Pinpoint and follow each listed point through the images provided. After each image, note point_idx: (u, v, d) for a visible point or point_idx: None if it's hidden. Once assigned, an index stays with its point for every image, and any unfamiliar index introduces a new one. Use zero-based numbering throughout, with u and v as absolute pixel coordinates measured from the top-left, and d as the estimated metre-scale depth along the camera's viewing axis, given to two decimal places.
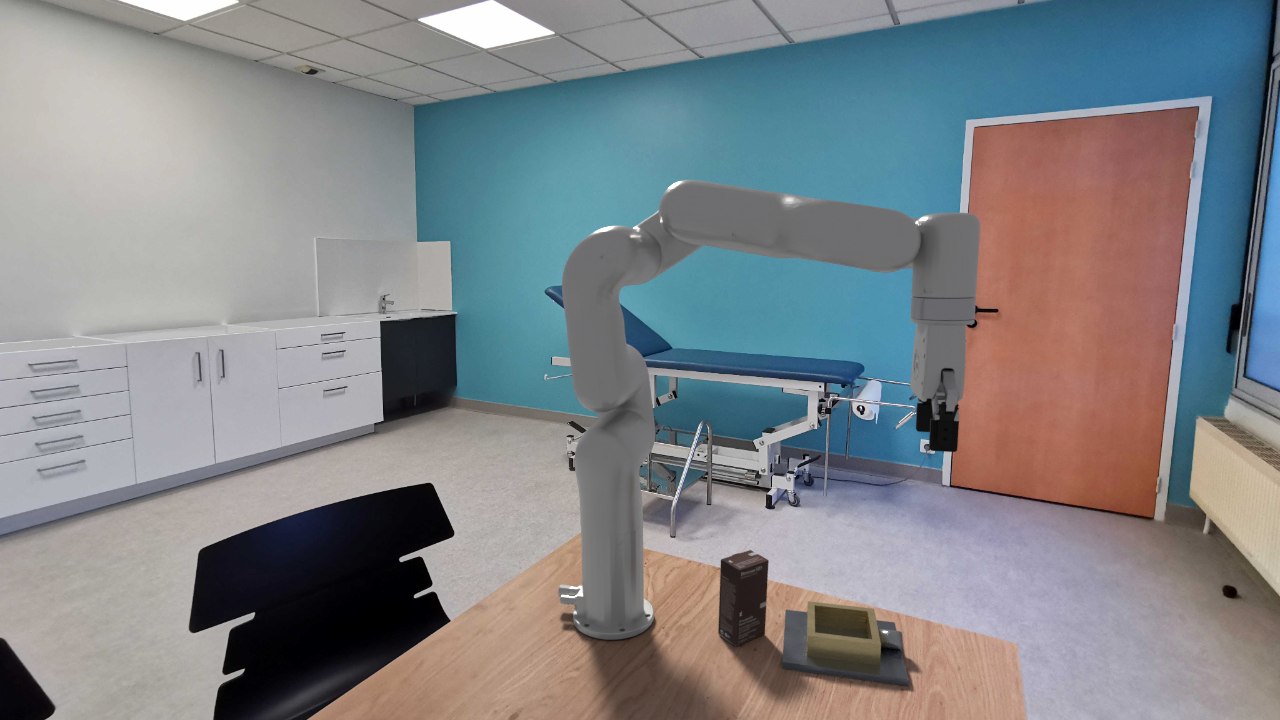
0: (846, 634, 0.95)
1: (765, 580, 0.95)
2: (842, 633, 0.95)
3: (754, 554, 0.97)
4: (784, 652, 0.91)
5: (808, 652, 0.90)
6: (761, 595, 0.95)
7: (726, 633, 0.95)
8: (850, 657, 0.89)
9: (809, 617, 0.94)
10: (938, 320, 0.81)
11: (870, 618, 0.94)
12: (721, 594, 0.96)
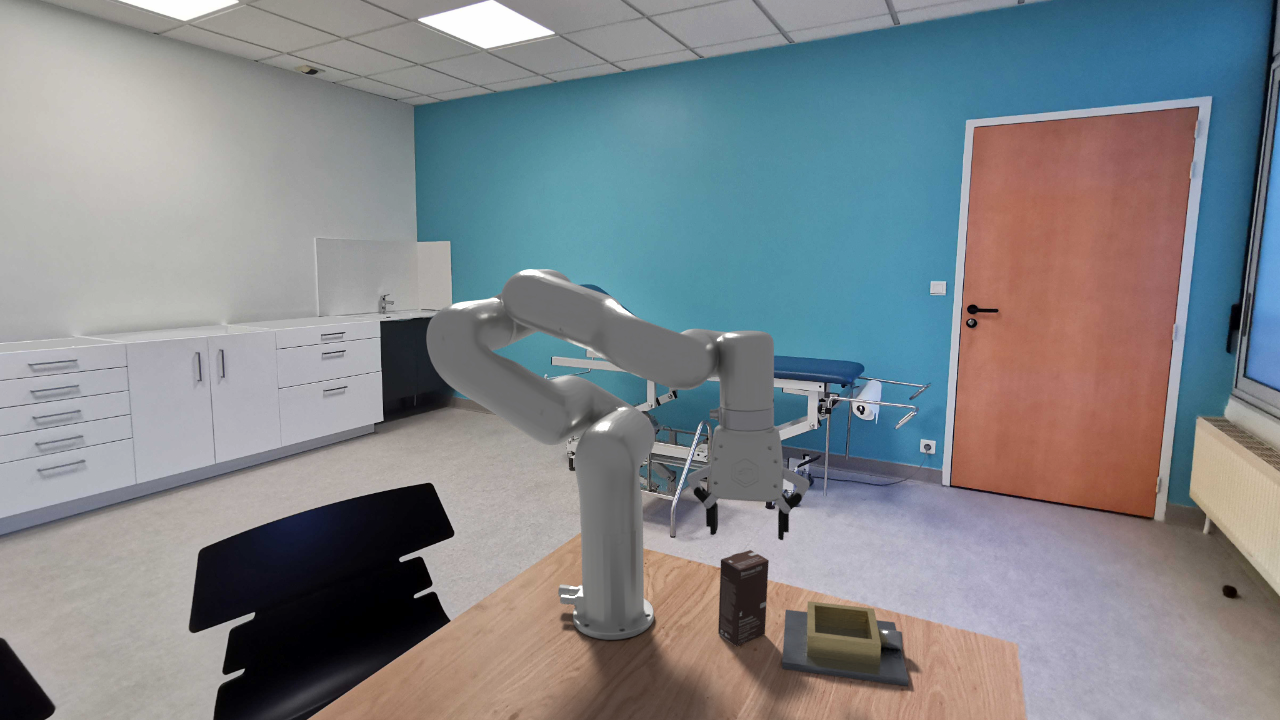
0: (846, 634, 0.95)
1: (766, 580, 0.95)
2: (842, 633, 0.95)
3: (754, 554, 0.97)
4: (784, 652, 0.91)
5: (808, 652, 0.90)
6: (761, 595, 0.95)
7: (726, 633, 0.95)
8: (850, 657, 0.89)
9: (809, 617, 0.94)
10: (771, 427, 0.90)
11: (870, 618, 0.94)
12: (721, 594, 0.96)
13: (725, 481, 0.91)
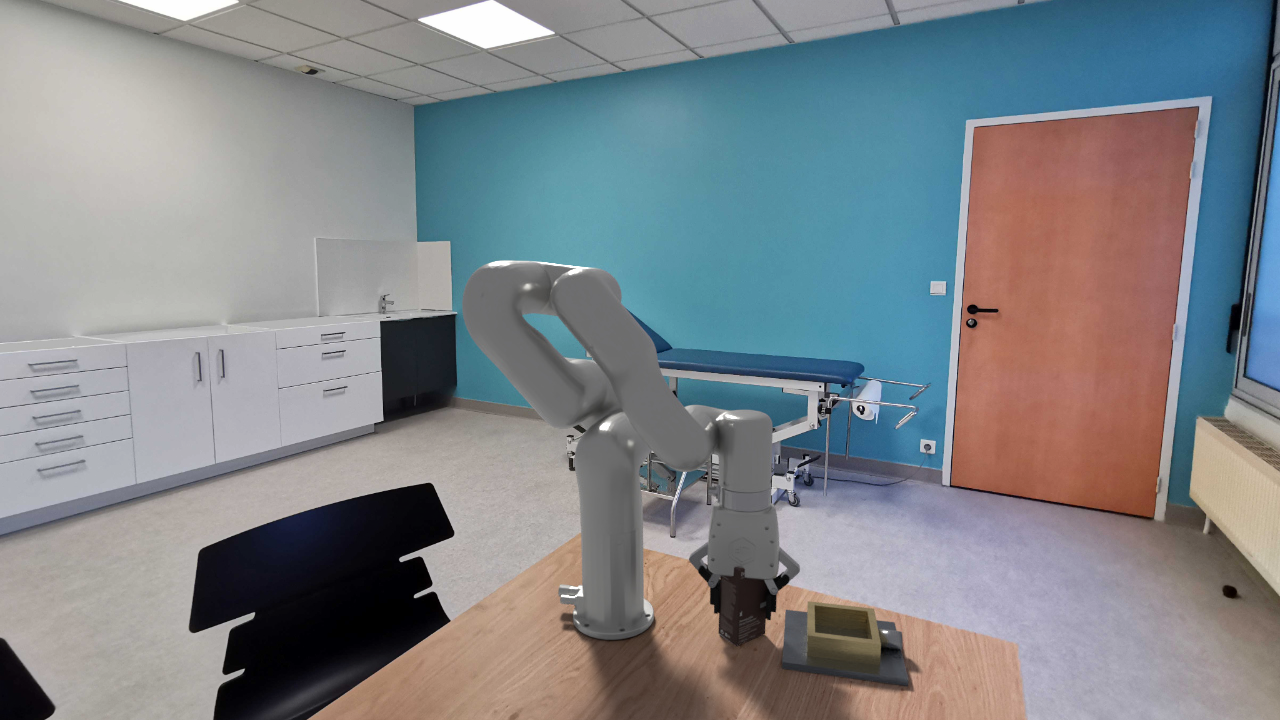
0: (846, 634, 0.95)
1: None
2: (842, 633, 0.95)
3: None
4: (784, 652, 0.91)
5: (808, 652, 0.90)
6: (761, 595, 0.95)
7: (726, 633, 0.95)
8: (850, 657, 0.89)
9: (809, 617, 0.94)
10: (769, 507, 0.92)
11: (870, 618, 0.94)
12: (721, 594, 0.96)
13: (722, 558, 0.93)
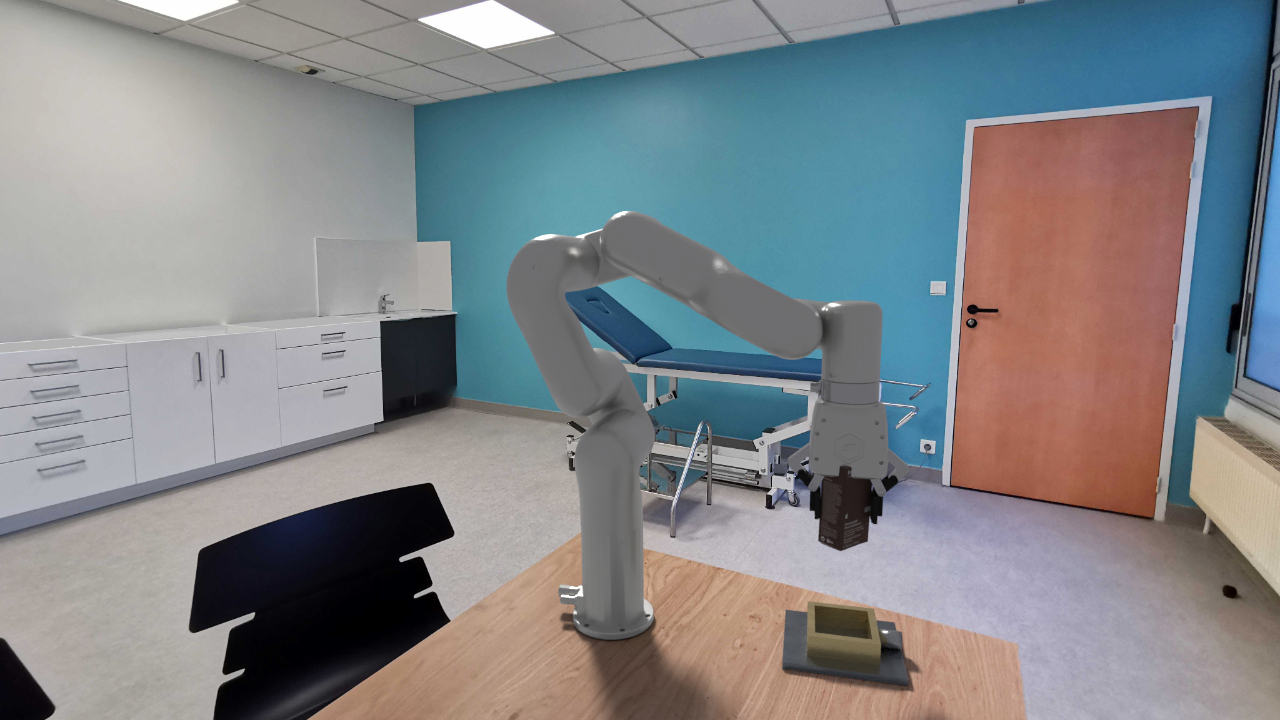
0: (846, 634, 0.95)
1: (870, 483, 0.90)
2: (842, 633, 0.95)
3: None
4: (784, 652, 0.91)
5: (808, 652, 0.90)
6: (866, 498, 0.90)
7: (828, 539, 0.90)
8: (850, 657, 0.89)
9: (809, 617, 0.94)
10: (878, 401, 0.86)
11: (870, 618, 0.94)
12: (823, 498, 0.90)
13: (827, 457, 0.87)
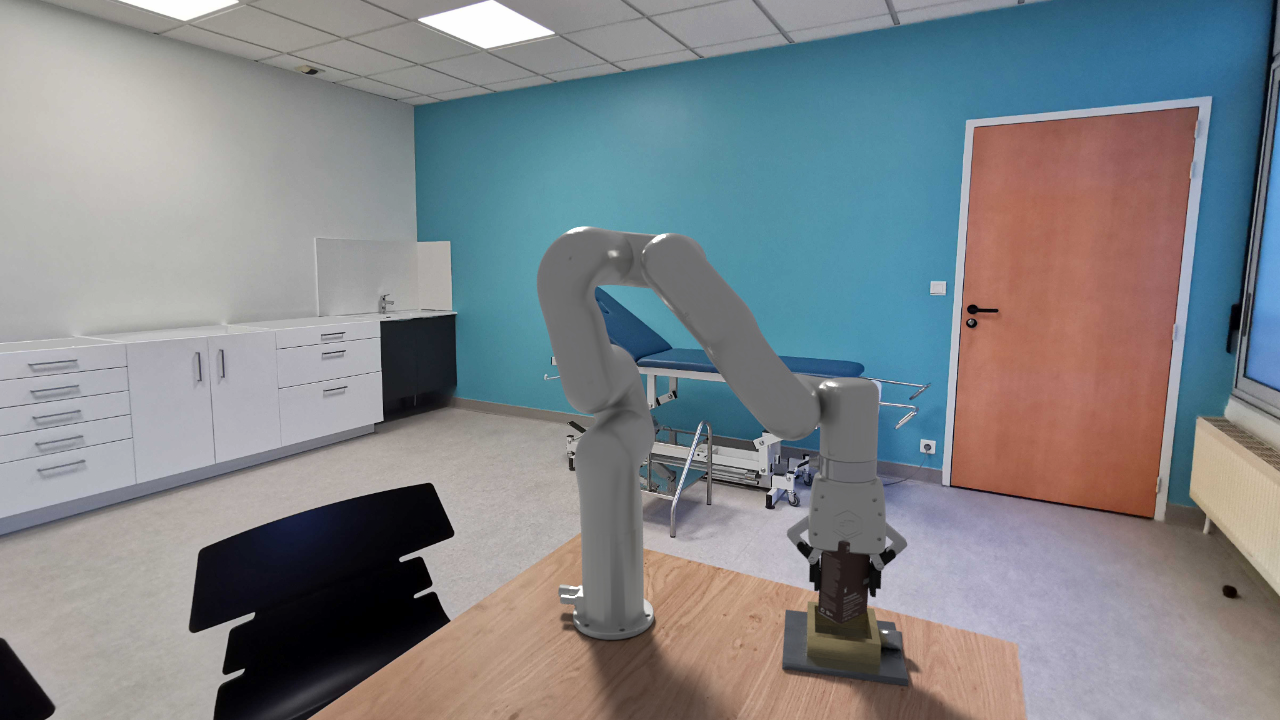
0: (846, 634, 0.95)
1: None
2: (842, 633, 0.95)
3: None
4: (784, 652, 0.91)
5: (808, 652, 0.90)
6: (864, 571, 0.91)
7: (828, 611, 0.91)
8: (850, 657, 0.89)
9: (809, 617, 0.94)
10: (875, 478, 0.88)
11: (870, 618, 0.94)
12: (822, 570, 0.91)
13: (826, 532, 0.89)
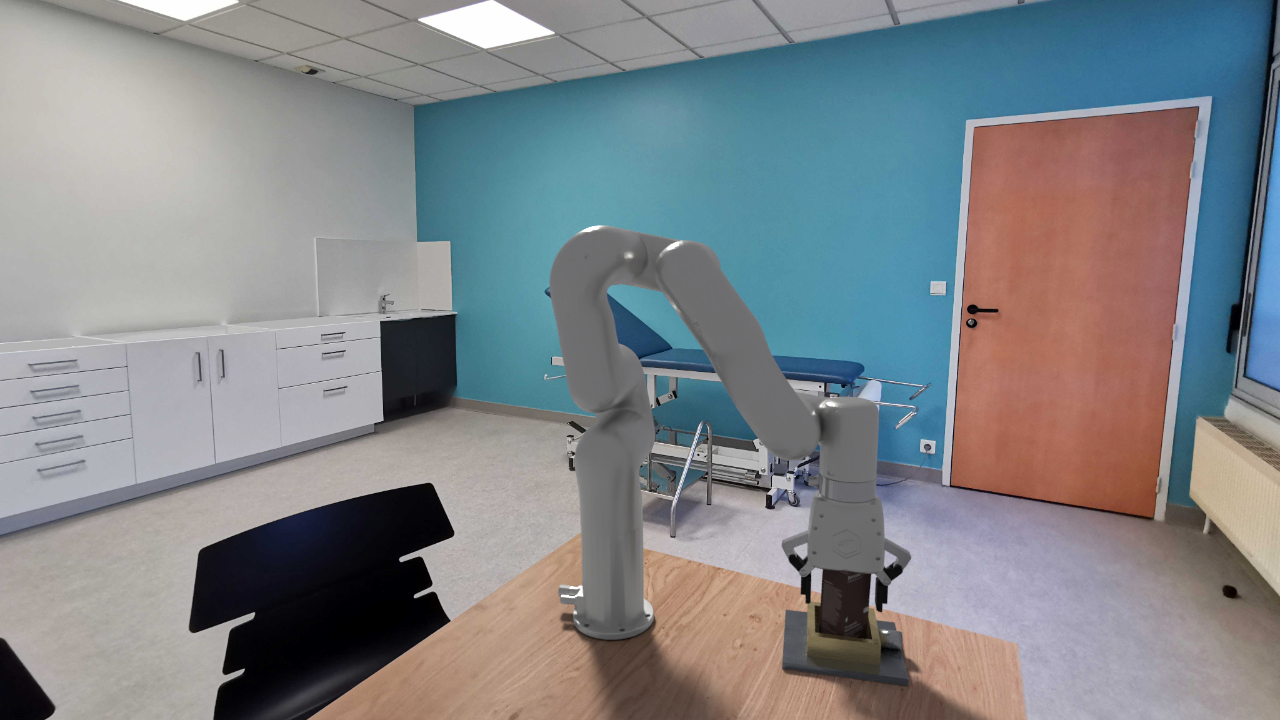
0: None
1: (869, 584, 0.92)
2: None
3: None
4: (784, 652, 0.91)
5: (808, 652, 0.90)
6: (865, 599, 0.92)
7: None
8: (850, 657, 0.89)
9: (809, 617, 0.94)
10: (874, 497, 0.88)
11: (870, 618, 0.94)
12: (823, 599, 0.92)
13: (825, 551, 0.89)
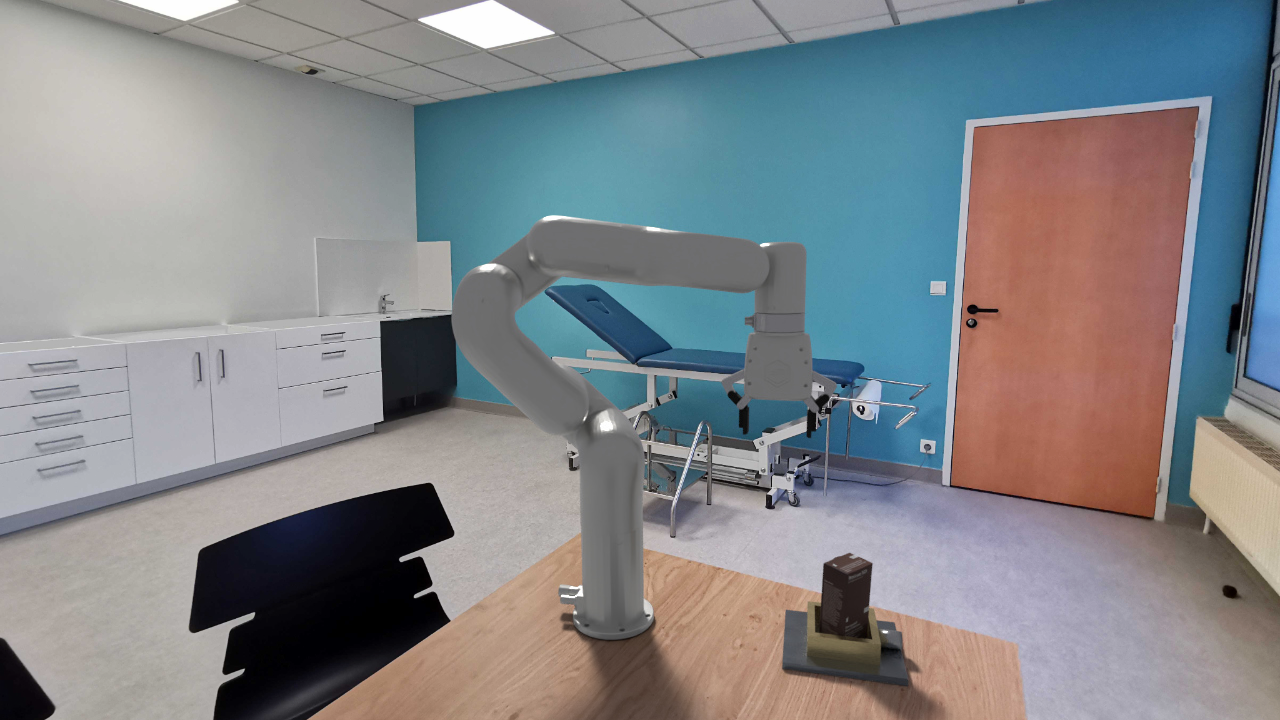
0: None
1: (869, 584, 0.92)
2: None
3: (855, 557, 0.93)
4: (784, 652, 0.91)
5: (808, 652, 0.90)
6: (865, 599, 0.92)
7: None
8: (850, 657, 0.89)
9: (809, 617, 0.94)
10: (803, 331, 0.97)
11: (870, 618, 0.94)
12: (823, 599, 0.92)
13: (758, 382, 0.98)
